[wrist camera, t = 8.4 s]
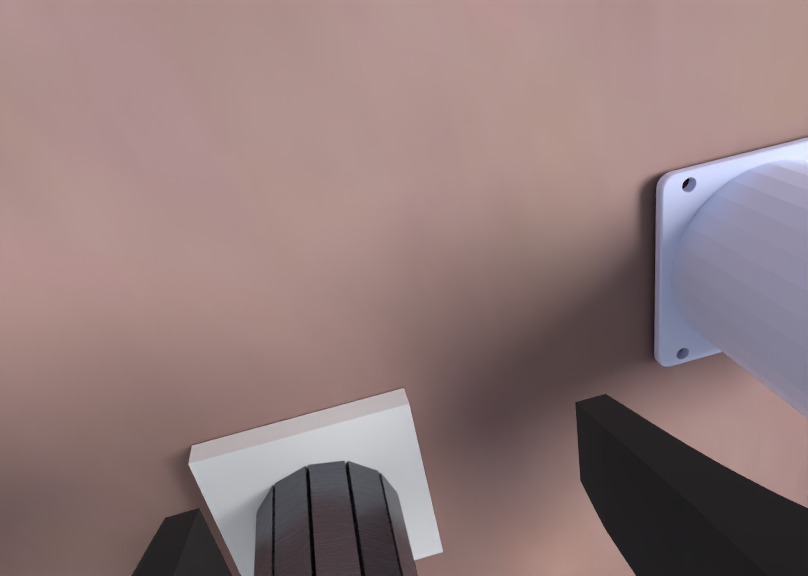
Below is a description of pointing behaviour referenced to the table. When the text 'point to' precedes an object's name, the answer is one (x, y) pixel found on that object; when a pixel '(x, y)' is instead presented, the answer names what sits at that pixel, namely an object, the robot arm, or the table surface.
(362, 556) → the gray grooved hollow cylinder
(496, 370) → the table surface
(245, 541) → the white square peg stand
